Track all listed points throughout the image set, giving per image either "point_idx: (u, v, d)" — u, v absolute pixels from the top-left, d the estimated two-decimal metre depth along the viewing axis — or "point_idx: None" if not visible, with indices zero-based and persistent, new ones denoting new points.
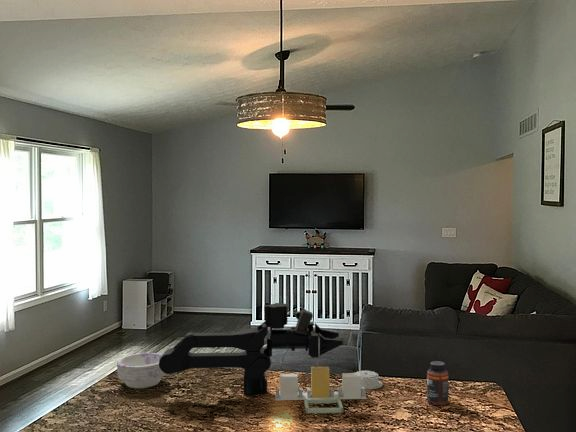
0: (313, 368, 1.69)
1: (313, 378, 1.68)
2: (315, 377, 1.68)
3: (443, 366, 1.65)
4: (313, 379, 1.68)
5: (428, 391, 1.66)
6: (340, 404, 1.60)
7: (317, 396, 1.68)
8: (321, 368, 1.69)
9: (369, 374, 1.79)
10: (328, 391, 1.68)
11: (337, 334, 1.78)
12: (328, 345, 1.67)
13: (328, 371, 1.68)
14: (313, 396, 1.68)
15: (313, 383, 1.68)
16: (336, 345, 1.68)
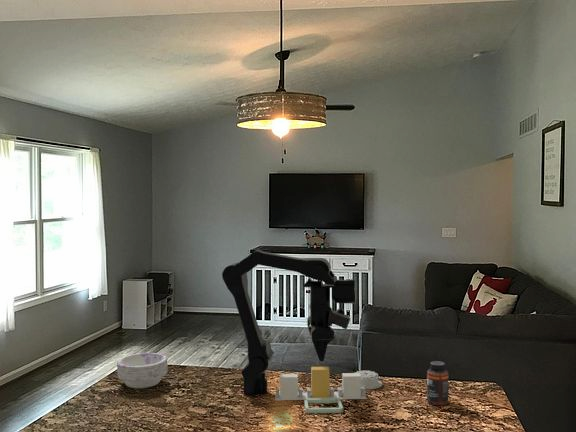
0: (313, 368, 1.69)
1: (313, 378, 1.68)
2: (315, 377, 1.68)
3: (443, 366, 1.65)
4: (313, 379, 1.68)
5: (428, 391, 1.66)
6: (340, 404, 1.60)
7: (317, 396, 1.68)
8: (321, 368, 1.69)
9: (369, 374, 1.79)
10: (328, 391, 1.68)
11: None
12: (320, 347, 1.63)
13: (328, 371, 1.68)
14: (313, 396, 1.68)
15: (313, 383, 1.68)
16: (319, 355, 1.64)
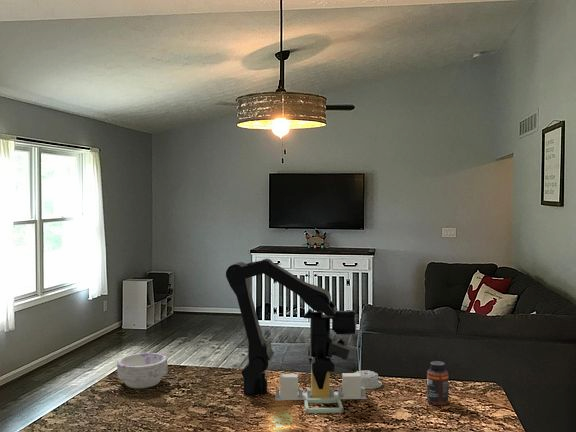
0: None
1: (313, 378, 1.68)
2: None
3: (443, 366, 1.65)
4: (313, 379, 1.68)
5: (428, 391, 1.66)
6: (340, 404, 1.60)
7: (317, 396, 1.68)
8: None
9: (369, 374, 1.79)
10: (328, 391, 1.68)
11: None
12: (319, 375, 1.66)
13: None
14: (313, 396, 1.68)
15: (313, 383, 1.68)
16: (318, 383, 1.67)
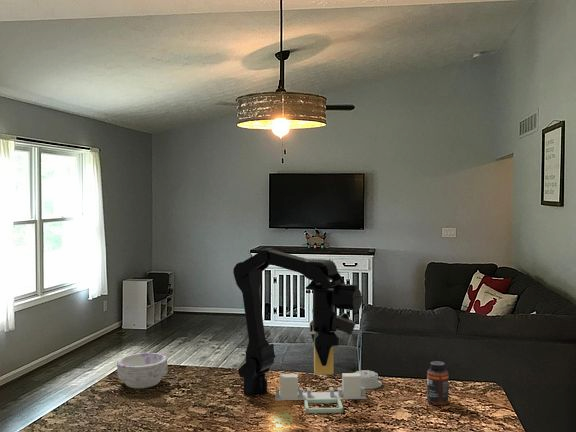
0: None
1: (316, 354, 1.59)
2: None
3: (443, 366, 1.65)
4: (316, 355, 1.59)
5: (428, 391, 1.66)
6: (340, 404, 1.60)
7: (320, 373, 1.59)
8: None
9: (368, 374, 1.79)
10: (332, 368, 1.59)
11: None
12: (322, 351, 1.57)
13: (332, 346, 1.59)
14: (316, 373, 1.59)
15: (316, 359, 1.59)
16: (322, 359, 1.58)
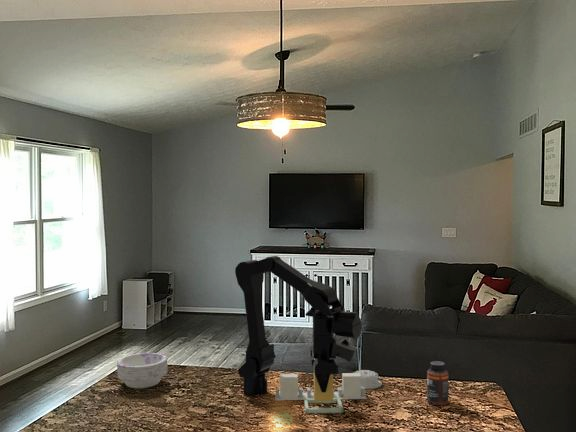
0: None
1: (316, 380, 1.59)
2: None
3: (443, 366, 1.65)
4: (316, 382, 1.59)
5: (428, 391, 1.66)
6: (340, 404, 1.60)
7: (320, 399, 1.59)
8: None
9: (369, 374, 1.80)
10: (332, 394, 1.59)
11: None
12: (322, 378, 1.57)
13: None
14: (316, 399, 1.59)
15: (316, 386, 1.59)
16: (321, 386, 1.58)
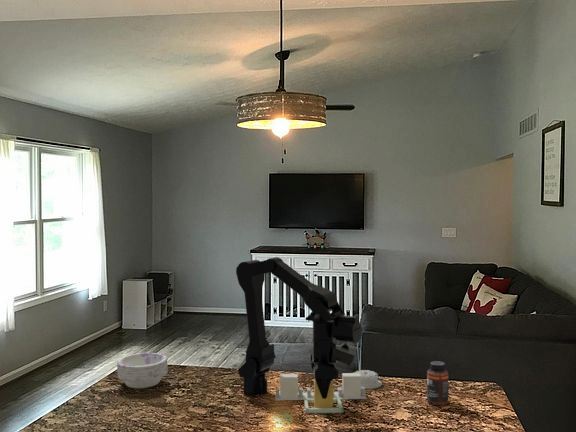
0: None
1: (316, 390, 1.59)
2: (318, 389, 1.59)
3: (443, 366, 1.65)
4: (316, 391, 1.59)
5: (428, 391, 1.66)
6: (340, 404, 1.60)
7: None
8: None
9: (368, 374, 1.80)
10: (332, 404, 1.59)
11: None
12: (323, 384, 1.56)
13: (332, 383, 1.59)
14: None
15: (316, 396, 1.59)
16: (322, 392, 1.57)
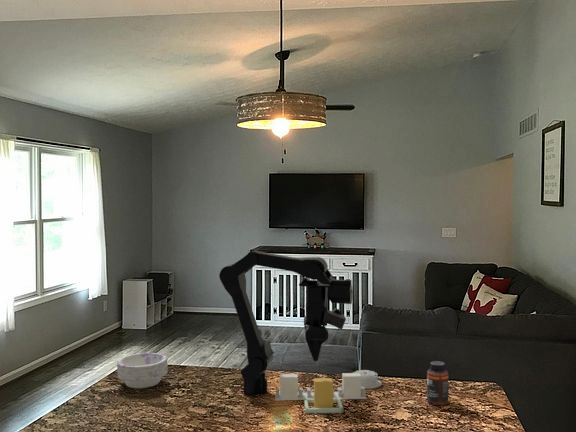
0: (316, 380, 1.60)
1: (316, 390, 1.59)
2: (318, 389, 1.59)
3: (443, 366, 1.65)
4: (316, 391, 1.59)
5: (428, 391, 1.66)
6: (340, 404, 1.60)
7: None
8: (324, 380, 1.60)
9: (368, 373, 1.80)
10: (332, 404, 1.59)
11: None
12: (314, 347, 1.62)
13: (332, 383, 1.59)
14: None
15: (316, 396, 1.59)
16: (313, 355, 1.63)
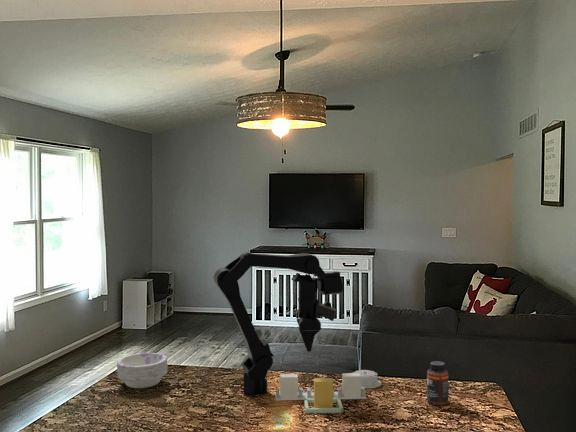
0: (316, 380, 1.60)
1: (316, 390, 1.59)
2: (318, 389, 1.59)
3: (443, 366, 1.65)
4: (316, 391, 1.59)
5: (428, 391, 1.66)
6: (340, 404, 1.60)
7: None
8: (324, 380, 1.60)
9: (368, 373, 1.80)
10: (332, 404, 1.59)
11: None
12: (307, 338, 1.71)
13: (332, 383, 1.59)
14: None
15: (316, 396, 1.59)
16: (307, 345, 1.72)
